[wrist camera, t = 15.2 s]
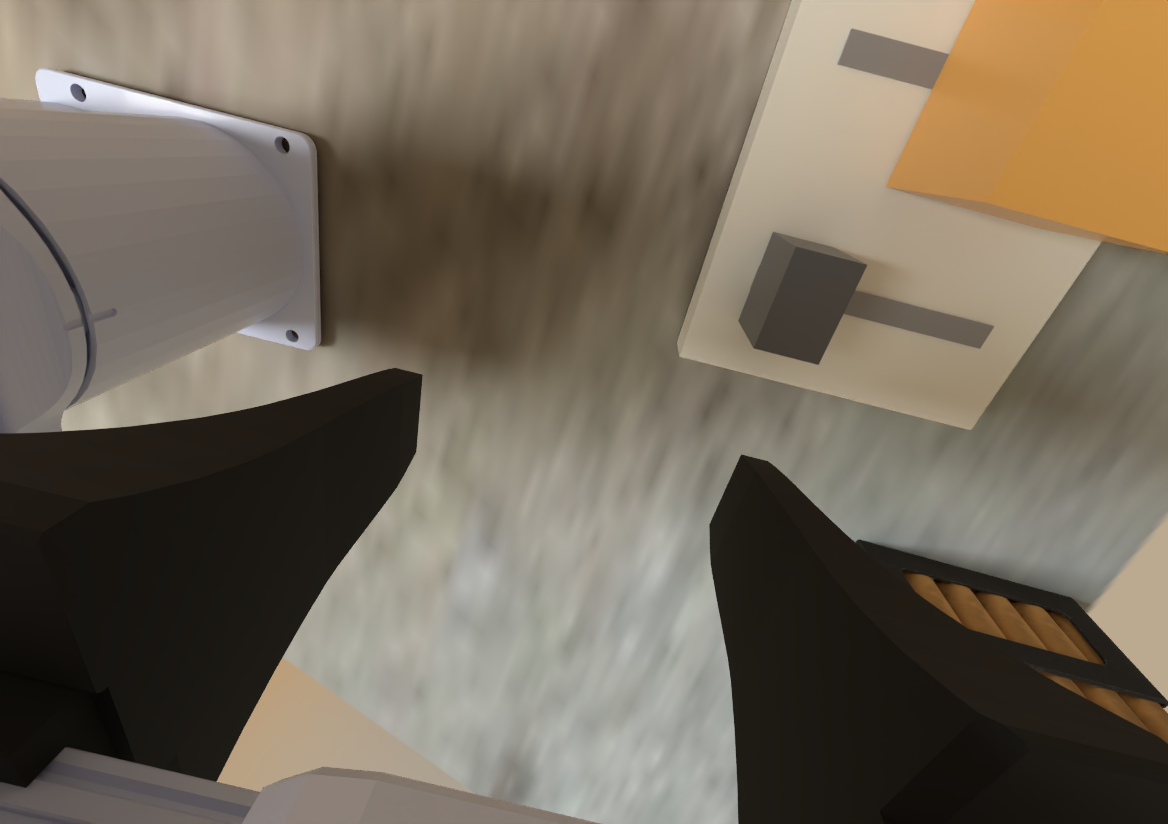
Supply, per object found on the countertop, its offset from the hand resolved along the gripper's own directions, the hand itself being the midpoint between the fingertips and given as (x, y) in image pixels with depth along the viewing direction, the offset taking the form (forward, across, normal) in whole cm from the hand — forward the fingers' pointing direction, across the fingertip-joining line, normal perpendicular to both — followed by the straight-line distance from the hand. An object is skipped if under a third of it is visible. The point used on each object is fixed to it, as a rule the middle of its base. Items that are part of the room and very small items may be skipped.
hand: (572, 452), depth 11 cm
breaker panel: (+9, -8, -6) cm, 14 cm away
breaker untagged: (+8, -5, -3) cm, 10 cm away
